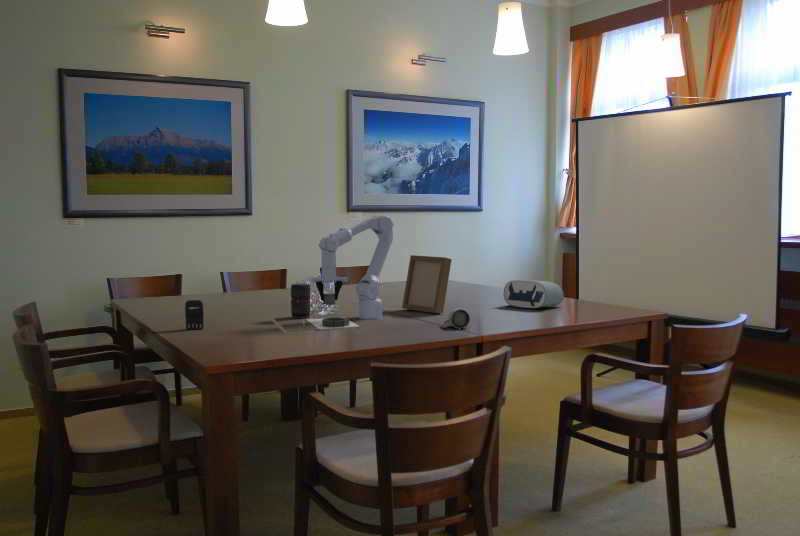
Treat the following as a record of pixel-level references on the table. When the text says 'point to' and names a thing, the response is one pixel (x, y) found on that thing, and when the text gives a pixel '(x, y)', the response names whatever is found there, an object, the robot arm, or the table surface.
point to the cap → (329, 299)
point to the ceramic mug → (457, 319)
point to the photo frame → (426, 283)
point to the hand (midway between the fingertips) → (329, 300)
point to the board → (333, 323)
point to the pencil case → (532, 294)
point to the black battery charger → (194, 314)
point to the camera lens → (300, 301)
